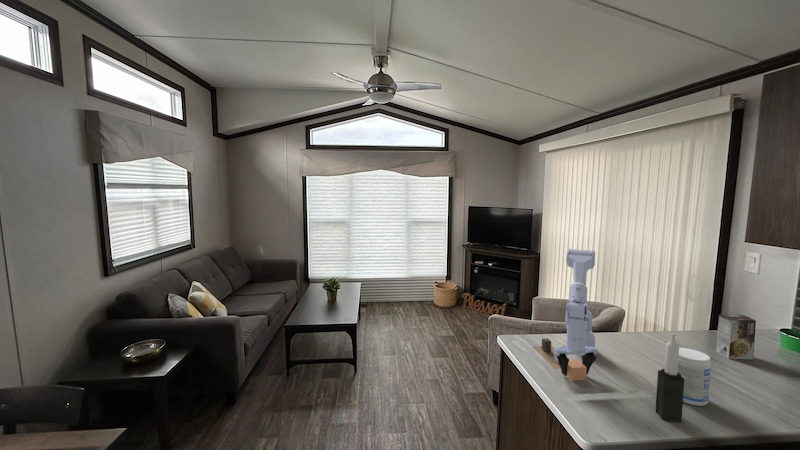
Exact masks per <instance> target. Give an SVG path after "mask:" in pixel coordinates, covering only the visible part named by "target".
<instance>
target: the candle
mask: <svg viewBox="0 0 800 450" xmlns="http://www.w3.org/2000/svg"><path fill="white" fill-rule="evenodd" d="M679 348H680V345H679V344H678V343H677V340H676V335H675V334H674V333H671V338H670V339H669V341H668V342H667V343H666V344H665V357H664V358H665V361H664V368H662V369H660V370H659V369H658V371H657V382H656V397H655V413H657V415H658V416H659V418H660V419H661V420H662V421H665V422H670V423H672V422H673V423H682V420H683V408H684V407H683V404H684V402H683V393H684V378H683V377H682V376H681V374H679V372H678V358H679Z"/></svg>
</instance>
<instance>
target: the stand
mask: <svg viewBox="0 0 800 450" xmlns="http://www.w3.org/2000/svg"><path fill="white" fill-rule="evenodd" d="M532 348H533V349H534V350H535V351H536V352H537V353H538V354H539V355H540V356H542V358H544V359H545V361H546V362H548V364H550V365H551V366H552V367H553V368H554V369H561V367H560V364H557V363H556V362H555V361H554V348H555V347H553V346H552V340H551V339H549V338H541V346H540V345H538V346H532Z"/></svg>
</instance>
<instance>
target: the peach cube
mask: <svg viewBox="0 0 800 450" xmlns="http://www.w3.org/2000/svg"><path fill="white" fill-rule="evenodd" d="M586 373H587V367H586V366H584V365H583V364H582V362H581V361H579V360H578V359H574V360H573V359H572V360H571V359H569V363H568V367H567V376H566V377H567V378H568V379H569V380H570V381H572V382H573V381H587V375H586Z"/></svg>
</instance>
